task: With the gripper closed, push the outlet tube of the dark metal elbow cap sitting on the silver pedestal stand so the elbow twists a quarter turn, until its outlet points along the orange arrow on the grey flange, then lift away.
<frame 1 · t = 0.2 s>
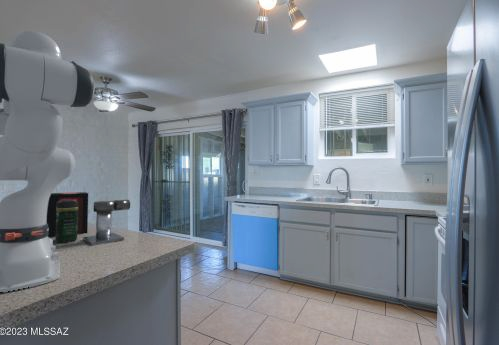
hand: (18, 149, 95), 39 cm above the counter, tool pointing down, fingers open, 8 cm apart
coffee jar: (66, 240, 115), on the counter
elbow: (111, 205, 119), point 15 cm above the counter, hinge at 0.0°
cleaning product box: (66, 234, 127), on the counter
silver pedestal stand: (103, 239, 117), on the counter
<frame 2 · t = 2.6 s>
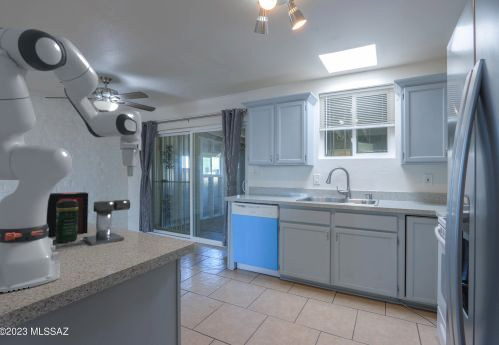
hand: (130, 176, 117), 29 cm above the counter, tool pointing down, fingers closed
nothing on the counter moved.
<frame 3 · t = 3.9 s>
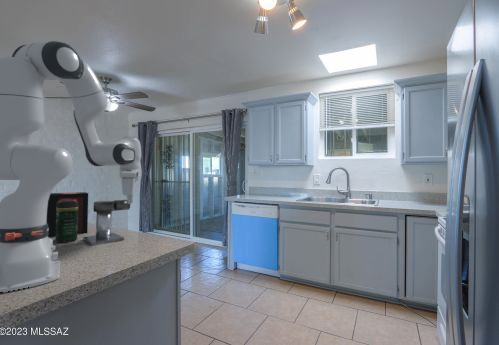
hand: (130, 203, 117), 17 cm above the counter, tool pointing down, fingers closed
nothing on the counter moved.
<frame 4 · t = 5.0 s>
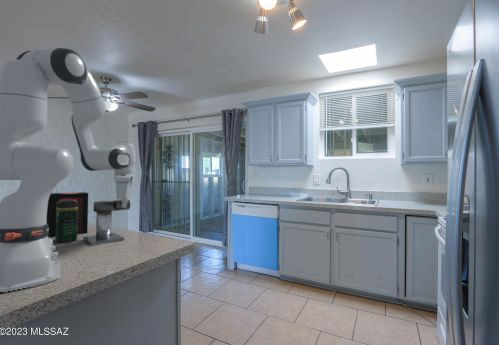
hand: (124, 207, 119), 15 cm above the counter, tool pointing down, fingers closed
elbow: (111, 205, 119), point 15 cm above the counter, hinge at 0.0°, touching gripper
everything else where it was.
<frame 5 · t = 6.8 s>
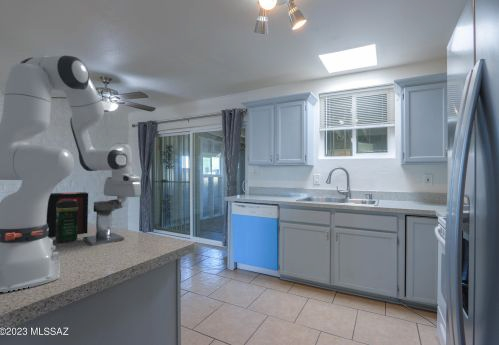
hand: (121, 205, 124), 15 cm above the counter, tool pointing down, fingers closed, pressing on elbow
elbow: (109, 205, 120), point 15 cm above the counter, hinge at 35.3°, touching gripper
everything else where it was.
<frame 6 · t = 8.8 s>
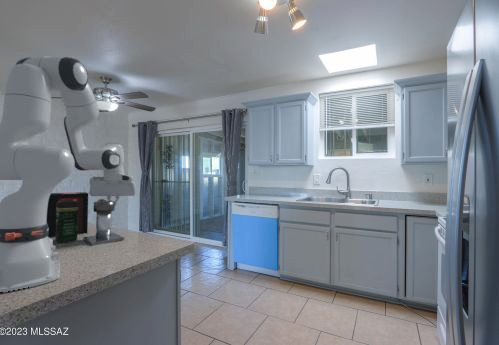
hand: (113, 205, 125), 15 cm above the counter, tool pointing down, fingers closed
elbow: (103, 205, 119), point 15 cm above the counter, hinge at 79.2°
everything else where it was.
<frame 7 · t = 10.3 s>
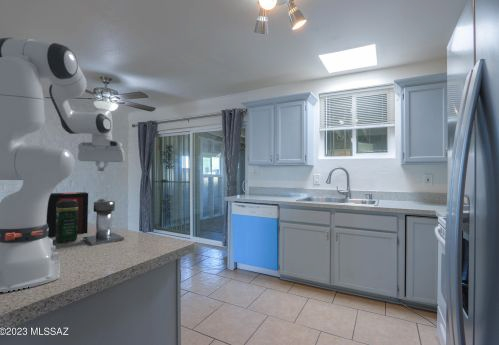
hand: (101, 171, 126), 31 cm above the counter, tool pointing down, fingers closed
nothing on the counter moved.
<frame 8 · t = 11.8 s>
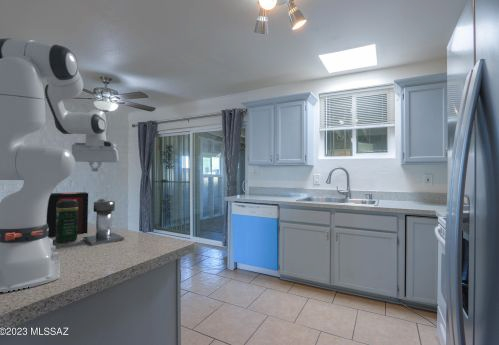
hand: (95, 171, 126), 31 cm above the counter, tool pointing down, fingers closed
nothing on the counter moved.
at the end: elbow at +79° (first picture: +0°) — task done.
